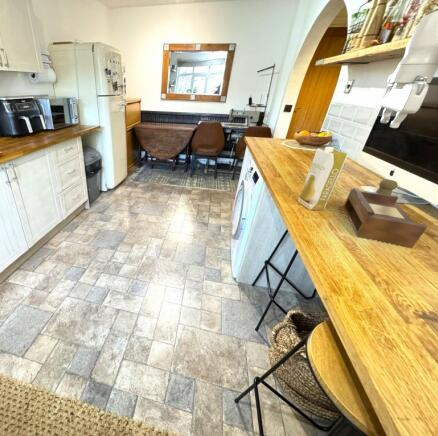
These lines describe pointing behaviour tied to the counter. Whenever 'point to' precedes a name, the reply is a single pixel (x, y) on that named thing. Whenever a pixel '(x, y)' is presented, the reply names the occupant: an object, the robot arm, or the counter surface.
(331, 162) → the juice carton
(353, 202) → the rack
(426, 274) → the counter surface
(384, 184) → the pepper mill
